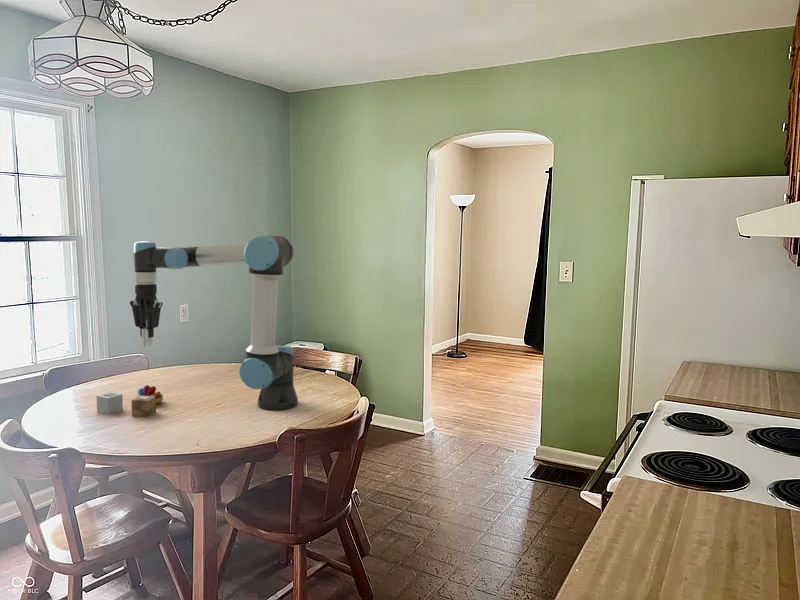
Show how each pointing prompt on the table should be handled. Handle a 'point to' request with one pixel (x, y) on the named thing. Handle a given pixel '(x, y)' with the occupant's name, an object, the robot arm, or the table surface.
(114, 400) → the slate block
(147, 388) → the rainbow segmented toy
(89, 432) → the table surface
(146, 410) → the walnut block
